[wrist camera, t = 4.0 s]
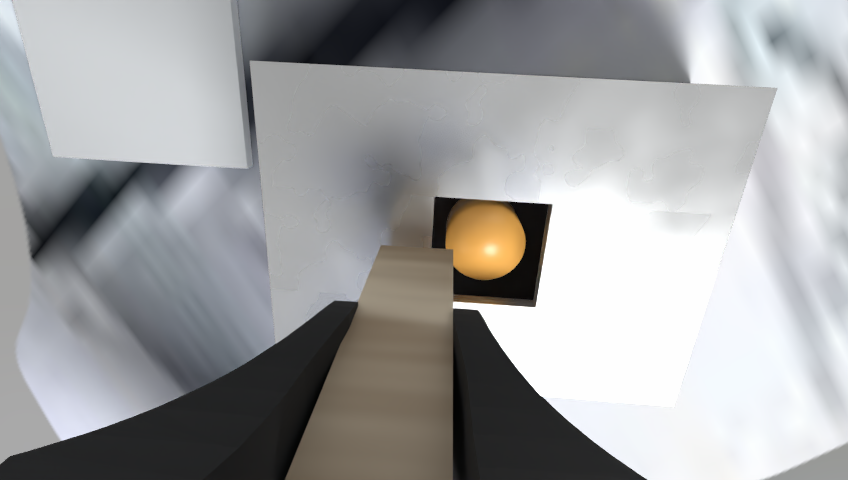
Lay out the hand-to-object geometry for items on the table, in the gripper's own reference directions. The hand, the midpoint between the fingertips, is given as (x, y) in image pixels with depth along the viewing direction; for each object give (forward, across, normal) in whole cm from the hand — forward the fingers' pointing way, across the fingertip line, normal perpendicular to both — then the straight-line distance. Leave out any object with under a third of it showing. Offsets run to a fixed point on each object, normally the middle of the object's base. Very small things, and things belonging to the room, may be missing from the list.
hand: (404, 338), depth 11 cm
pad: (+10, +12, -6) cm, 17 cm away
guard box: (+10, -2, 0) cm, 10 cm away
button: (+8, -2, 0) cm, 8 cm away
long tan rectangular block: (+4, 0, 0) cm, 4 cm away
